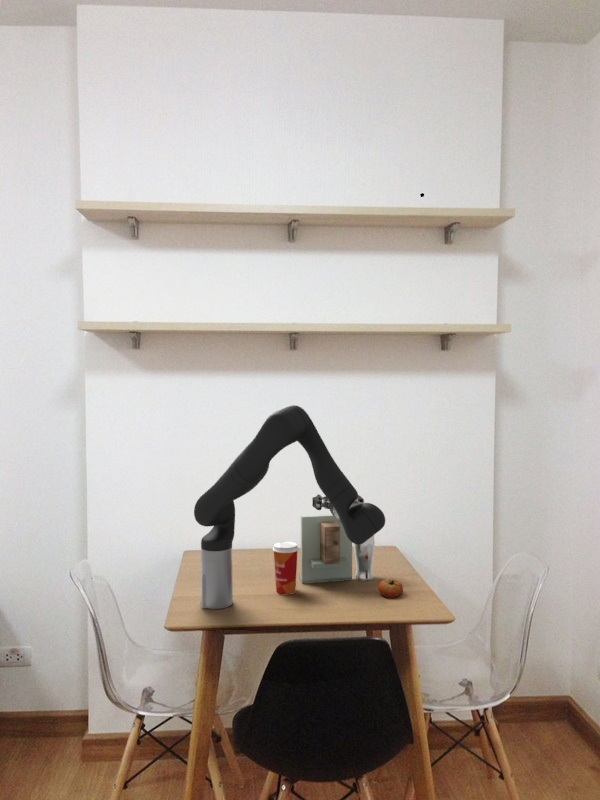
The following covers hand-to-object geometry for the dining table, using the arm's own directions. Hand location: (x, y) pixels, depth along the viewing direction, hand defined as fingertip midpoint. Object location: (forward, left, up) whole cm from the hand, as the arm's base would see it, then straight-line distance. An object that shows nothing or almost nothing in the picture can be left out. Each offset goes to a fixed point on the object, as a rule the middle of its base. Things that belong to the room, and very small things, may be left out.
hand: (332, 497), depth 188 cm
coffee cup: (-12, +12, -32) cm, 36 cm away
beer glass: (+16, +19, -32) cm, 41 cm away
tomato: (+20, +3, -32) cm, 38 cm away
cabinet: (+3, +15, -24) cm, 28 cm away
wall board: (+3, +18, -32) cm, 37 cm away
